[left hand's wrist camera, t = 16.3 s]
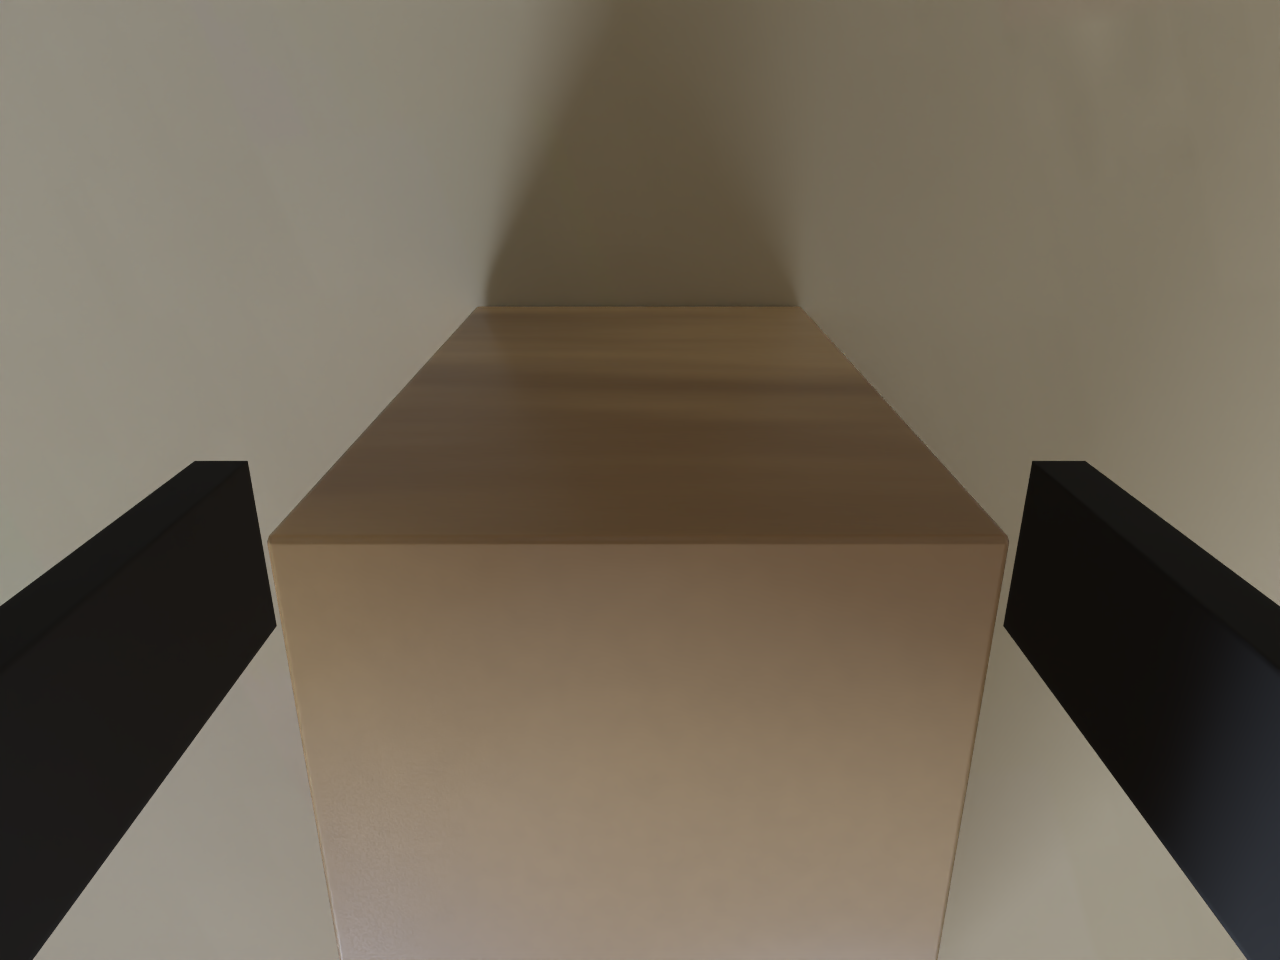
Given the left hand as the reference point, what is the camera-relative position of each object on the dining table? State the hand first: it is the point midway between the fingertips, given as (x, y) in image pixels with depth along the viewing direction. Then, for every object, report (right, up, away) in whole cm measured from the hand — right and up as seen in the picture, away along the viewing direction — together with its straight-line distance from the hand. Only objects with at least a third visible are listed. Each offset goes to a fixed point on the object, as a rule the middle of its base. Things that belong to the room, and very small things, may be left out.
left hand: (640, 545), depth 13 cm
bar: (0, -7, +7) cm, 9 cm away
